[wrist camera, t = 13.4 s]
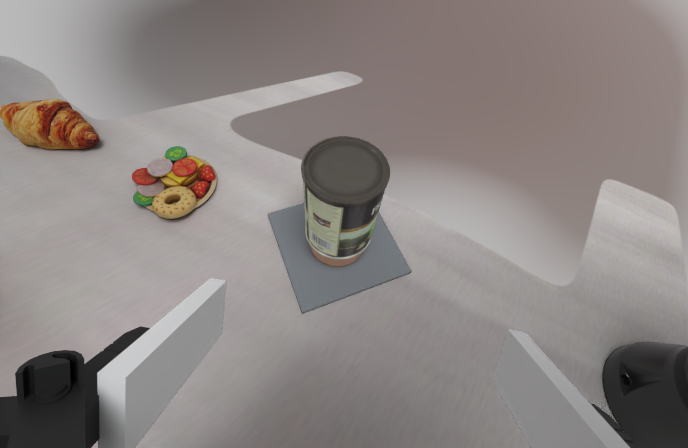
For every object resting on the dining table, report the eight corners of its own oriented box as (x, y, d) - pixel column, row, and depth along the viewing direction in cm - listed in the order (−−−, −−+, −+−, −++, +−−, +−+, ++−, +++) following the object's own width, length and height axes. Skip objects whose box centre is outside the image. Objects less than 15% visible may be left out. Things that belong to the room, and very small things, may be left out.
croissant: (11, 140, 64) (-40, 124, 56) (30, 93, 65) (-18, 70, 57) (104, 170, 61) (63, 157, 53) (122, 120, 62) (85, 100, 54)
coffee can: (374, 206, 52) (392, 141, 40) (369, 264, 47) (388, 209, 35) (310, 197, 52) (309, 129, 40) (298, 254, 47) (293, 195, 35)
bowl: (351, 211, 56) (354, 198, 53) (374, 256, 52) (378, 244, 49) (301, 227, 54) (300, 213, 51) (320, 275, 50) (321, 264, 46)
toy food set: (177, 233, 53) (170, 222, 50) (119, 196, 55) (109, 184, 53) (233, 180, 59) (229, 167, 56) (179, 149, 62) (172, 136, 59)
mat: (364, 187, 60) (364, 186, 60) (410, 272, 52) (411, 271, 51) (268, 215, 55) (267, 213, 55) (302, 313, 47) (302, 312, 46)
